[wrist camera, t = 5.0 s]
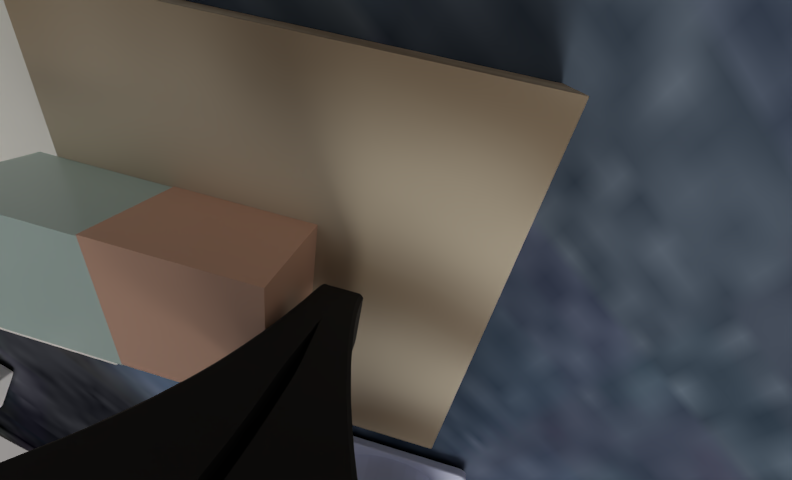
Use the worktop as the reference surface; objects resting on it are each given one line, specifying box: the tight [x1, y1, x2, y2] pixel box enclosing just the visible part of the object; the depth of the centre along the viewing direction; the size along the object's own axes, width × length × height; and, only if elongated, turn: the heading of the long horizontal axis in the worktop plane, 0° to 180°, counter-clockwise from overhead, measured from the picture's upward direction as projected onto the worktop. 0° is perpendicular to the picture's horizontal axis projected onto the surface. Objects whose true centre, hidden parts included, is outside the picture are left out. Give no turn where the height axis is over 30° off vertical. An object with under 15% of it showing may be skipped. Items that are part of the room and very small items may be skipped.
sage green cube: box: [0, 152, 172, 365], centre depth 10 cm, size 4×4×3 cm
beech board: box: [4, 0, 589, 449], centre depth 12 cm, size 14×14×2 cm
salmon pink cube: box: [75, 186, 318, 382], centre depth 10 cm, size 4×4×3 cm
